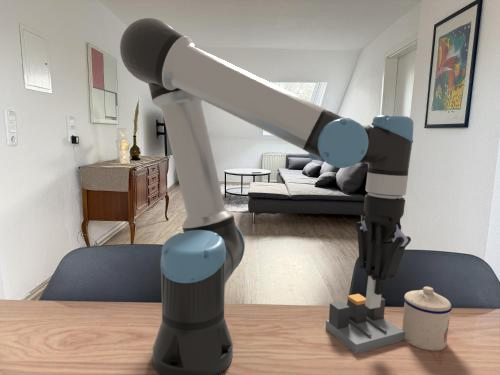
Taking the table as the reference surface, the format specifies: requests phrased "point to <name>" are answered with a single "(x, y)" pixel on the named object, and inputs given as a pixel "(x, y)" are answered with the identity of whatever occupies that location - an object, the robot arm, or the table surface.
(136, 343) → the table surface
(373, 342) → the panel
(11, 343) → the table surface
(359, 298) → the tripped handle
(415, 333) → the teacup with lid
